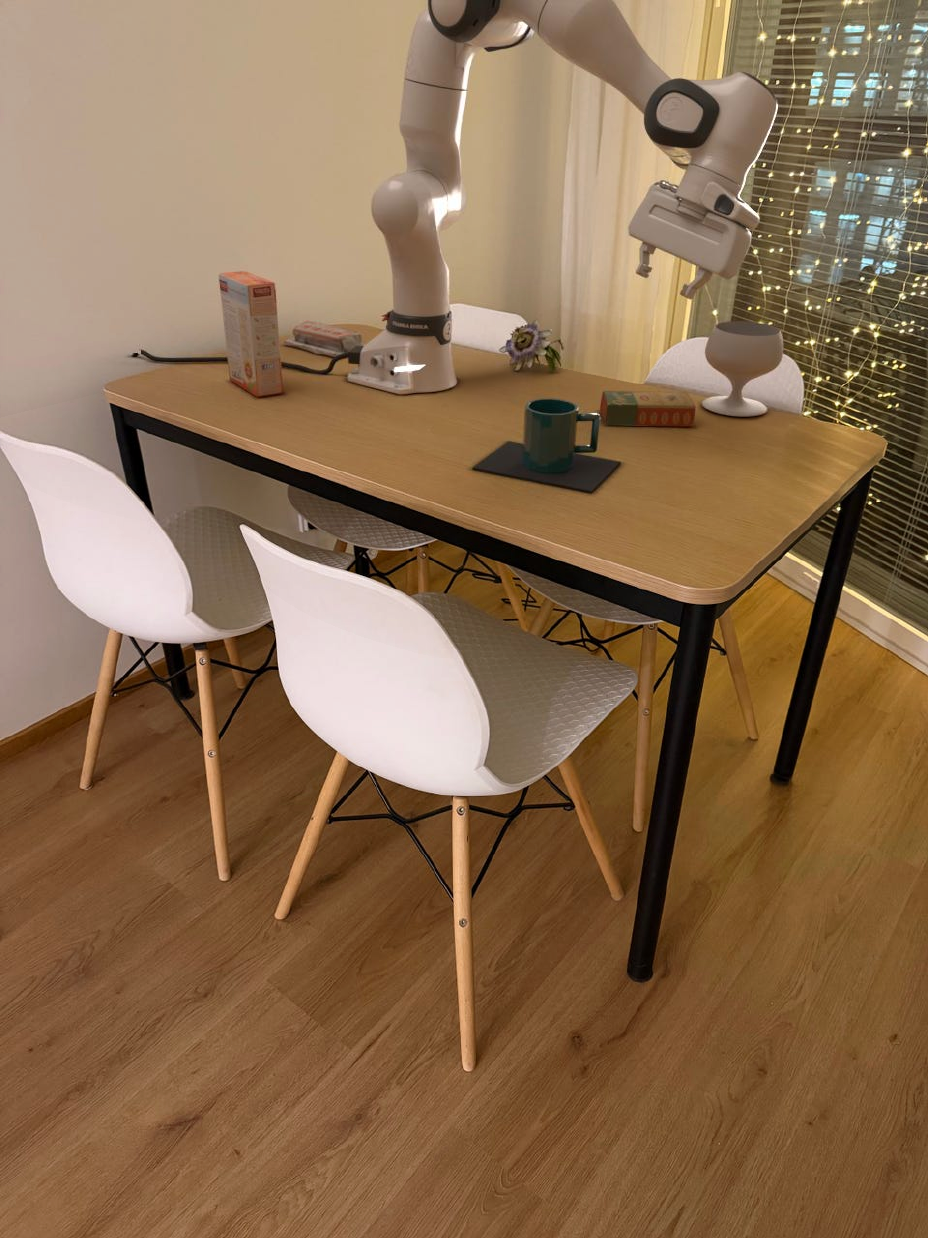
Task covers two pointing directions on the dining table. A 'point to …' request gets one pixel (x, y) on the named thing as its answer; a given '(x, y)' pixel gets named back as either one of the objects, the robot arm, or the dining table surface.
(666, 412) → the carton
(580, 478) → the placemat
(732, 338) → the chalice
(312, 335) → the packaged product
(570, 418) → the mug
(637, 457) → the dining table surface
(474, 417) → the dining table surface
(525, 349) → the passion flower
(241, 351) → the cracker box
